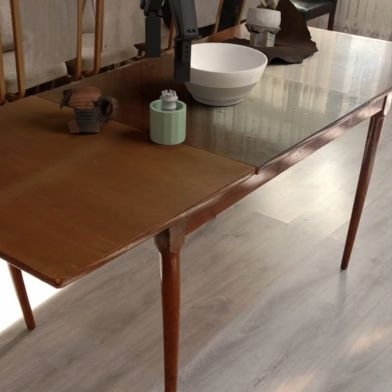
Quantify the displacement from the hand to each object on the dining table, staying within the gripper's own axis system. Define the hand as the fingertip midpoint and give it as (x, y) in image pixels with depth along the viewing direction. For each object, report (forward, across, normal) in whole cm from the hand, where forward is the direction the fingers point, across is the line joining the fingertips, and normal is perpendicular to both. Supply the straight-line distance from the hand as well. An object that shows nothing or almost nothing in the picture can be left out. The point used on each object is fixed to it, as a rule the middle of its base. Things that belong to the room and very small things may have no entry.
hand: (166, 69), depth 109 cm
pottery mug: (+13, +10, +12) cm, 20 cm away
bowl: (+12, +16, -18) cm, 27 cm away
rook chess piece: (+12, 0, 0) cm, 12 cm away
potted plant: (+12, +41, -46) cm, 62 cm away
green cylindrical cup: (+12, 0, 0) cm, 12 cm away
